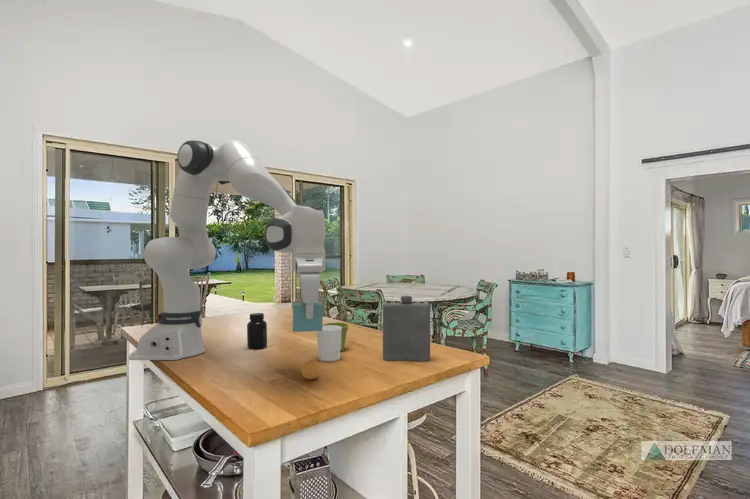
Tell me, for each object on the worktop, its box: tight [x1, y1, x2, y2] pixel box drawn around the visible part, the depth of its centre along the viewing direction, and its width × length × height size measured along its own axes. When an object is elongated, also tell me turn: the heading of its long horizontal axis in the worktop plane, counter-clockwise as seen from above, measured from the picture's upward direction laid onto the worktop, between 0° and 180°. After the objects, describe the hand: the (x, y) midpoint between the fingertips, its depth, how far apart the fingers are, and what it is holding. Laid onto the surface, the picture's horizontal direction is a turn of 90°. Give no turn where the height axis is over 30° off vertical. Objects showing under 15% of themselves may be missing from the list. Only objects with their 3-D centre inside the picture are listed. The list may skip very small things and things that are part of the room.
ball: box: [300, 359, 321, 380], centre depth 108 cm, size 5×5×5 cm
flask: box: [382, 295, 431, 362], centre depth 128 cm, size 15×6×20 cm, turn 84°
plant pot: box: [322, 322, 350, 352], centre depth 139 cm, size 9×9×9 cm
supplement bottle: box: [246, 312, 268, 351], centre depth 143 cm, size 7×7×12 cm
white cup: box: [316, 325, 342, 362], centre depth 128 cm, size 8×8×10 cm
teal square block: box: [292, 300, 324, 333], centre depth 108 cm, size 8×8×7 cm
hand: (308, 315), depth 108 cm, fingers closed on teal square block, 8 cm apart
